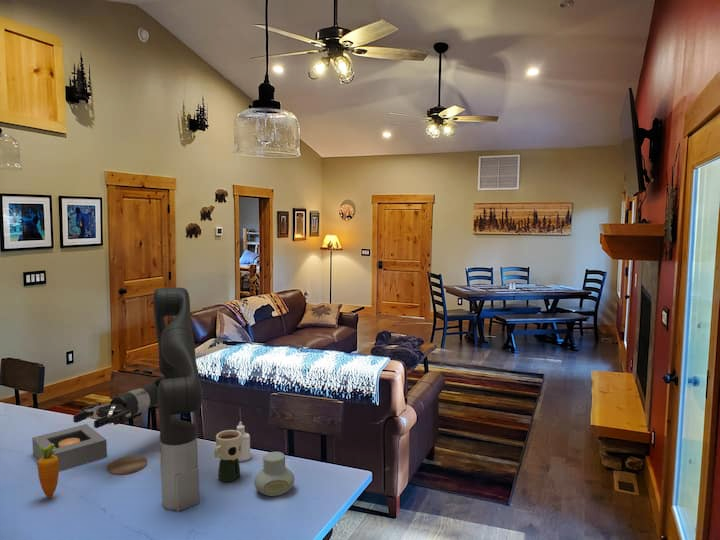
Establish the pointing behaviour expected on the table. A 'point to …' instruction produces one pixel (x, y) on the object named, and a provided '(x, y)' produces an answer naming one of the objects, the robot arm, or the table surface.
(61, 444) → the button
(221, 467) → the character mug
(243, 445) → the eye dropper bottle
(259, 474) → the air freshener
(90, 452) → the box
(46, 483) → the carrot
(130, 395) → the robot arm
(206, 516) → the table surface
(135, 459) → the walnut pad
